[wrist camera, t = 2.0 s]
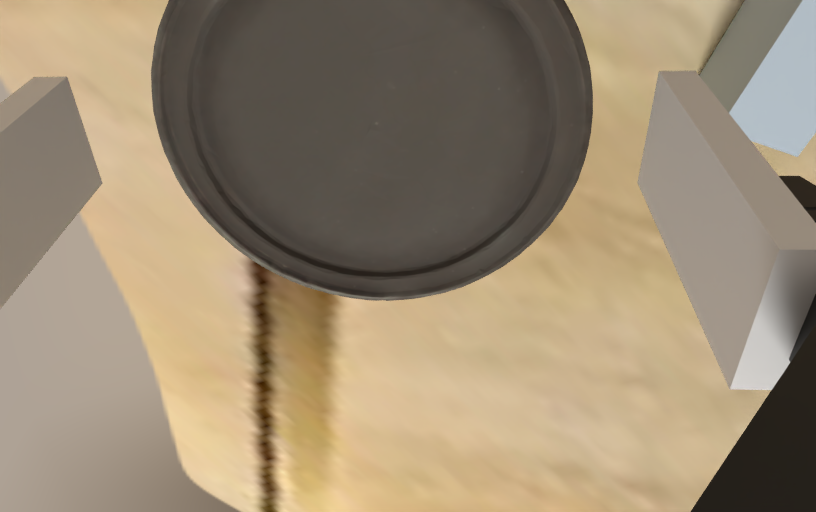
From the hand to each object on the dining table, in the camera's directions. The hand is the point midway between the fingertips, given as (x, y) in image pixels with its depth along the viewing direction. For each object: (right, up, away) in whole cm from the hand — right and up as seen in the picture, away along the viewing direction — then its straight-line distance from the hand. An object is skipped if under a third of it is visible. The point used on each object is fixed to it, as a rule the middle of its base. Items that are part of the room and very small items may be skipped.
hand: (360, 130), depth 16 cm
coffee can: (+1, +8, +12) cm, 15 cm away
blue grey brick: (+16, +6, +12) cm, 21 cm away
